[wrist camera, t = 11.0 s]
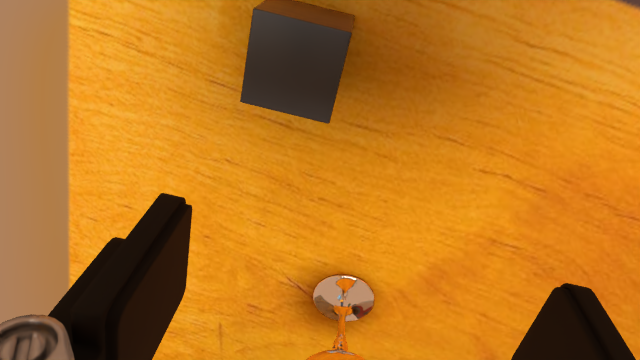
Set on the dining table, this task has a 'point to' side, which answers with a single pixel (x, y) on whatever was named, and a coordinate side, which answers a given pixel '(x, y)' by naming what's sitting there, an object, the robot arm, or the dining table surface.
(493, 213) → the dining table surface
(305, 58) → the block
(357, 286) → the wineglass
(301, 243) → the dining table surface
